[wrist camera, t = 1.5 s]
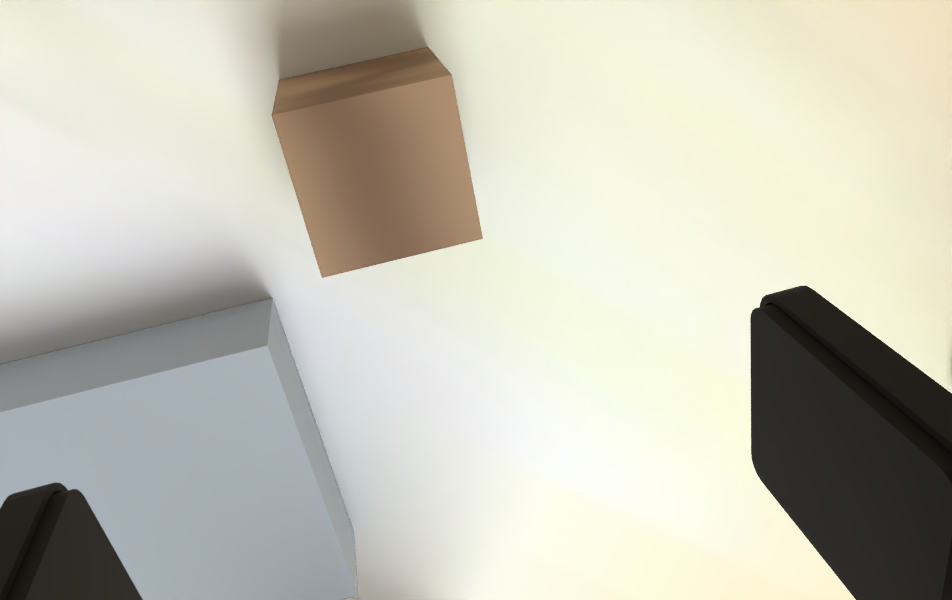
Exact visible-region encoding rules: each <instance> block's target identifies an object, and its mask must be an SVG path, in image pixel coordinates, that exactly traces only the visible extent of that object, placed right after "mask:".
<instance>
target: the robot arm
mask: <svg viewBox="0 0 952 600" xmlns="http://www.w3.org/2000/svg"><path fill="white" fill-rule="evenodd" d="M751 454H752V461H753V465H754V468H755V470H756V472H757V474H758V476H759V478H760V479H761V481H762V482H763V483H764V485H765V486H766V487H767V489H768V490H769V491H770V492H771V494H772V495H773V496H774V497H775V499H776V500H777V501H778V502H779V504H780V505H781V506H782V507H783V509H784V510H785V511H786V512H787V514H788V515H789V516H790V517H791V519H792V520H793V521H794V522H795V524H796V525H797V526H798V527H799V529H800V530H801V531H802V532H803V534H804V535H805V536H806V537H807V539H808V540H809V541H810V542H811V544H812V545H813V546H814V547H815V549H816V550H817V551H818V552H819V554H820V555H821V556H822V557H823V559H824V560H825V561H826V562H827V564H828V565H829V566H830V567H831V569H832V570H833V571H834V572H835V574H836V575H837V576H838V578H839V579H840V580H841V581H842V583H843V584H844V585H845V586H846V588H847V589H848V590H849V591H850V593H851V594H852V595H853V596H854V598H855V599H856V600H952V394H951V393H950V392H949V391H947V390H946V389H945V388H943V387H942V386H941V385H939V384H938V383H937V382H935V381H934V380H933V379H931V378H930V377H929V376H927V375H926V374H925V373H923V372H922V371H921V370H919V369H918V368H917V367H915V366H914V365H913V364H911V363H910V362H909V361H907V360H906V359H905V358H903V357H902V356H901V355H899V354H898V353H897V352H895V351H894V350H893V349H891V348H890V347H889V346H887V345H886V344H885V343H883V342H882V341H881V340H879V339H878V338H877V337H875V336H874V335H873V334H871V333H870V332H869V331H867V330H866V329H865V328H863V327H862V326H861V325H859V324H858V323H857V322H855V321H854V320H853V319H851V318H850V317H849V316H847V315H846V314H845V313H843V312H842V311H841V310H839V309H838V308H837V307H835V306H834V305H833V304H831V303H830V302H829V301H827V300H826V299H825V298H823V297H822V296H821V295H819V294H818V293H817V292H815V291H814V290H813V289H811V288H809V287H807V286H799V287H795V288H791V289H788V290H784V291H780V292H776V293H772V294H769V295H766V296H764V297H763V298H762V301H761V303H760V307H759V308H756V309H754V310H753V311H752V314H751ZM0 600H143V599H142V598H141V596H140V594H139V592H138V590H137V589H136V587H135V585H134V583H133V582H132V580H131V578H130V576H129V575H128V573H127V571H126V569H125V567H124V566H123V564H122V562H121V560H120V559H119V557H118V555H117V553H116V551H115V550H114V548H113V546H112V544H111V543H110V541H109V539H108V537H107V536H106V534H105V532H104V530H103V528H102V527H101V525H100V523H99V521H98V520H97V518H96V516H95V514H94V513H93V511H92V509H91V507H90V505H89V504H88V502H87V500H86V498H85V497H84V495H83V494H82V493H81V492H80V491H79V490H78V489H72V490H68V489H67V488H66V487H65V486H64V485H62V484H61V483H57V482H55V483H51V484H47V485H43V486H39V487H36V488H32V489H28V490H24V491H20V492H17V493H13V494H11V495H9V496H8V497H7V498H6V500H5V501H4V502H3V504H2V506H1V508H0Z"/></svg>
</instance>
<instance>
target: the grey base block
mask: <svg viewBox="0 0 952 600" xmlns="http://www.w3.org/2000/svg"><path fill="white" fill-rule="evenodd" d="M55 482H57V483H61V484H62V485H64V486H65V487H66V488H67V489H68V490H72V489H78V490H79V491H80V492H81V493H82V494H83V495H84V497H85V498H86V500H87V502H88V504H89V505H90V507H91V509H92V511H93V513H94V514H95V516H96V518H97V520H98V521H99V523H100V525H101V527H102V528H103V530H104V532H105V534H106V536H107V537H108V539H109V541H110V543H111V544H112V546H113V548H114V550H115V551H116V553H117V555H118V557H119V559H120V560H121V562H122V564H123V566H124V567H125V569H126V571H127V573H128V575H129V576H130V578H131V580H132V582H133V583H134V585H135V587H136V589H137V590H138V592H139V594H140V596H141V598H142V599H143V600H343V599H346V598H350V597H354V596H357V595H358V587H357V572H356V556H355V541H354V531H353V528H352V525H351V522H350V519H349V517H348V514H347V511H346V508H345V505H344V502H343V499H342V496H341V494H340V491H339V488H338V485H337V482H336V479H335V476H334V473H333V471H332V468H331V465H330V462H329V459H328V456H327V453H326V450H325V448H324V445H323V442H322V439H321V436H320V433H319V430H318V427H317V424H316V422H315V419H314V416H313V413H312V410H311V407H310V404H309V401H308V399H307V396H306V393H305V390H304V387H303V384H302V381H301V378H300V376H299V373H298V370H297V367H296V364H295V361H294V358H293V355H292V353H291V350H290V347H289V344H288V341H287V338H286V335H285V332H284V330H283V327H282V324H281V321H280V318H279V315H278V312H277V309H276V307H275V304H274V301H273V298H269V299H265V300H261V301H257V302H253V303H249V304H245V305H240V306H236V307H232V308H228V309H224V310H220V311H216V312H212V313H208V314H204V315H200V316H195V317H191V318H187V319H183V320H179V321H175V322H171V323H167V324H163V325H159V326H155V327H150V328H146V329H142V330H138V331H134V332H130V333H126V334H122V335H118V336H114V337H109V338H105V339H101V340H97V341H93V342H89V343H85V344H81V345H77V346H73V347H69V348H64V349H60V350H56V351H52V352H48V353H44V354H40V355H36V356H32V357H28V358H24V359H19V360H15V361H11V362H7V363H3V364H0V508H1V506H2V504H3V502H4V501H5V500H6V498H7V497H8V496H9V495H11V494H13V493H17V492H20V491H24V490H28V489H32V488H36V487H39V486H43V485H47V484H51V483H55Z"/></svg>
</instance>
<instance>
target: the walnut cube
mask: <svg viewBox="0 0 952 600" xmlns="http://www.w3.org/2000/svg"><path fill="white" fill-rule="evenodd" d="M272 117H273V121H274V124H275V127H276V130H277V134H278V137H279V140H280V143H281V147H282V150H283V153H284V156H285V160H286V163H287V166H288V169H289V173H290V176H291V179H292V182H293V185H294V189H295V192H296V195H297V198H298V202H299V205H300V208H301V211H302V215H303V218H304V221H305V224H306V228H307V231H308V234H309V237H310V241H311V244H312V247H313V250H314V254H315V257H316V260H317V263H318V266H319V270H320V273H321V276H322V278H323V277H327V276H331V275H335V274H339V273H344V272H348V271H352V270H356V269H360V268H364V267H368V266H372V265H376V264H380V263H385V262H389V261H393V260H397V259H401V258H405V257H409V256H413V255H417V254H422V253H426V252H430V251H434V250H438V249H442V248H446V247H450V246H454V245H458V244H463V243H467V242H471V241H475V240H479V239H483V237H482V232H481V227H480V222H479V216H478V211H477V206H476V201H475V195H474V190H473V185H472V180H471V174H470V169H469V164H468V159H467V153H466V148H465V143H464V138H463V132H462V127H461V122H460V117H459V111H458V106H457V101H456V96H455V90H454V85H453V80H452V75H451V74H450V72H449V71H448V70H447V69H446V68H445V66H444V65H443V64H442V63H441V62H440V61H439V59H438V58H437V57H436V56H435V55H434V53H433V52H432V51H431V50H430V49H429V47H426V48H422V49H417V50H413V51H408V52H404V53H399V54H395V55H390V56H386V57H381V58H377V59H372V60H368V61H363V62H359V63H354V64H349V65H345V66H340V67H336V68H331V69H327V70H322V71H318V72H313V73H309V74H304V75H300V76H295V77H291V78H286V79H282V80H279V83H278V88H277V92H276V97H275V102H274V107H273V112H272Z"/></svg>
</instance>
